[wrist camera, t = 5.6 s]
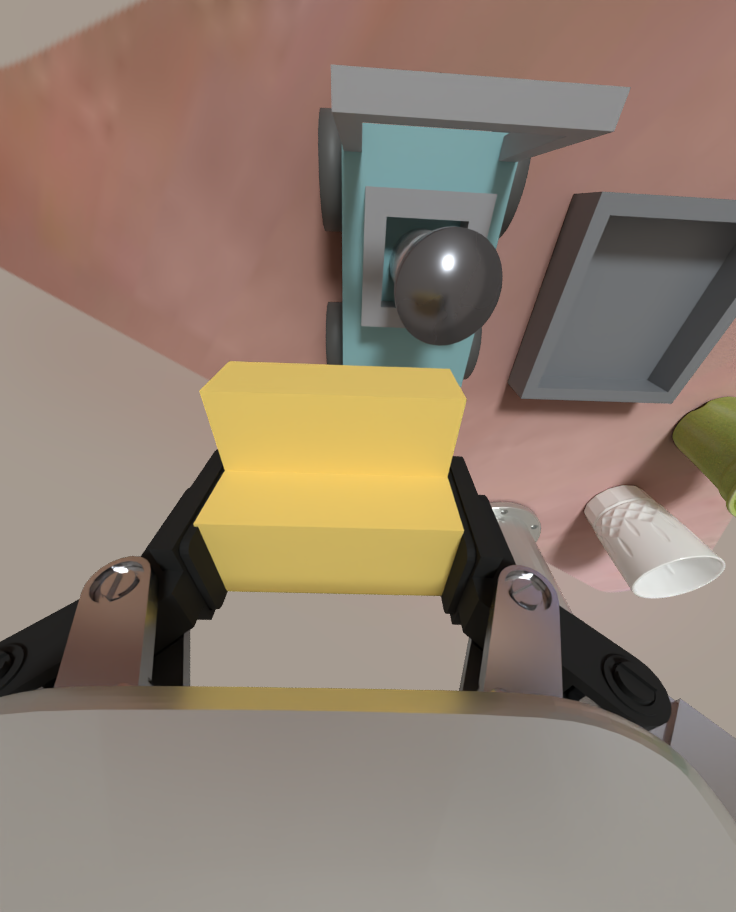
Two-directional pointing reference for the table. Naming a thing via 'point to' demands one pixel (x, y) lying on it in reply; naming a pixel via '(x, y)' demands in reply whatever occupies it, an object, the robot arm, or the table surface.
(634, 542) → the white cup
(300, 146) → the table surface
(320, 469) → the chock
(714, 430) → the plant pot
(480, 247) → the pin
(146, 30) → the table surface
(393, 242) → the trolley
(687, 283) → the tray
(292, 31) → the table surface
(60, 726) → the robot arm
